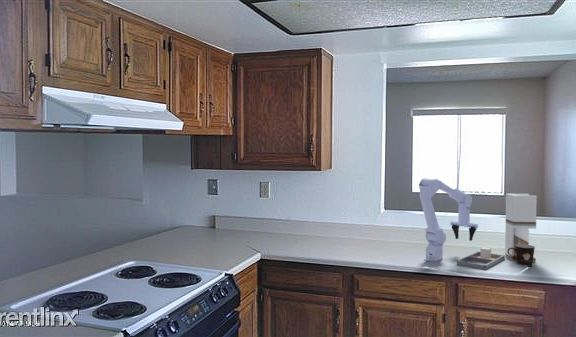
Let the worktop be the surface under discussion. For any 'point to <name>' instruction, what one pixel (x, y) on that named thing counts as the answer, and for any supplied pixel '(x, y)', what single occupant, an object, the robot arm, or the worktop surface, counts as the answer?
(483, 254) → the white rectangular block
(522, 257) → the coffee mug
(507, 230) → the coffee maker
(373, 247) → the worktop surface
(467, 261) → the tray
